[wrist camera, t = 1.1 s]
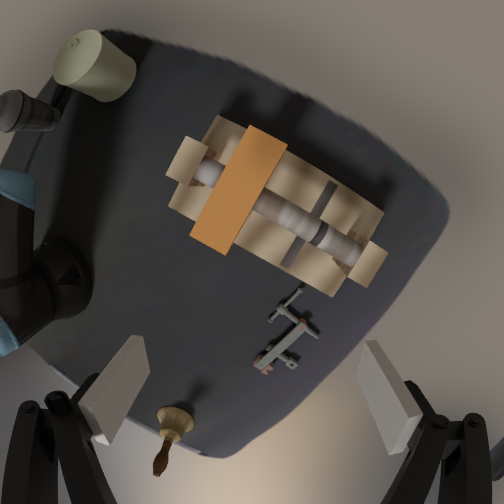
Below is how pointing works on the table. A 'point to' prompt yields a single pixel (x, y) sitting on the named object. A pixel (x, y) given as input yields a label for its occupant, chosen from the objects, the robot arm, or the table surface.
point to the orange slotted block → (238, 189)
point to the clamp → (283, 340)
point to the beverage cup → (26, 113)
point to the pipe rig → (286, 212)
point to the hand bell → (170, 433)
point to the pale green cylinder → (94, 66)
